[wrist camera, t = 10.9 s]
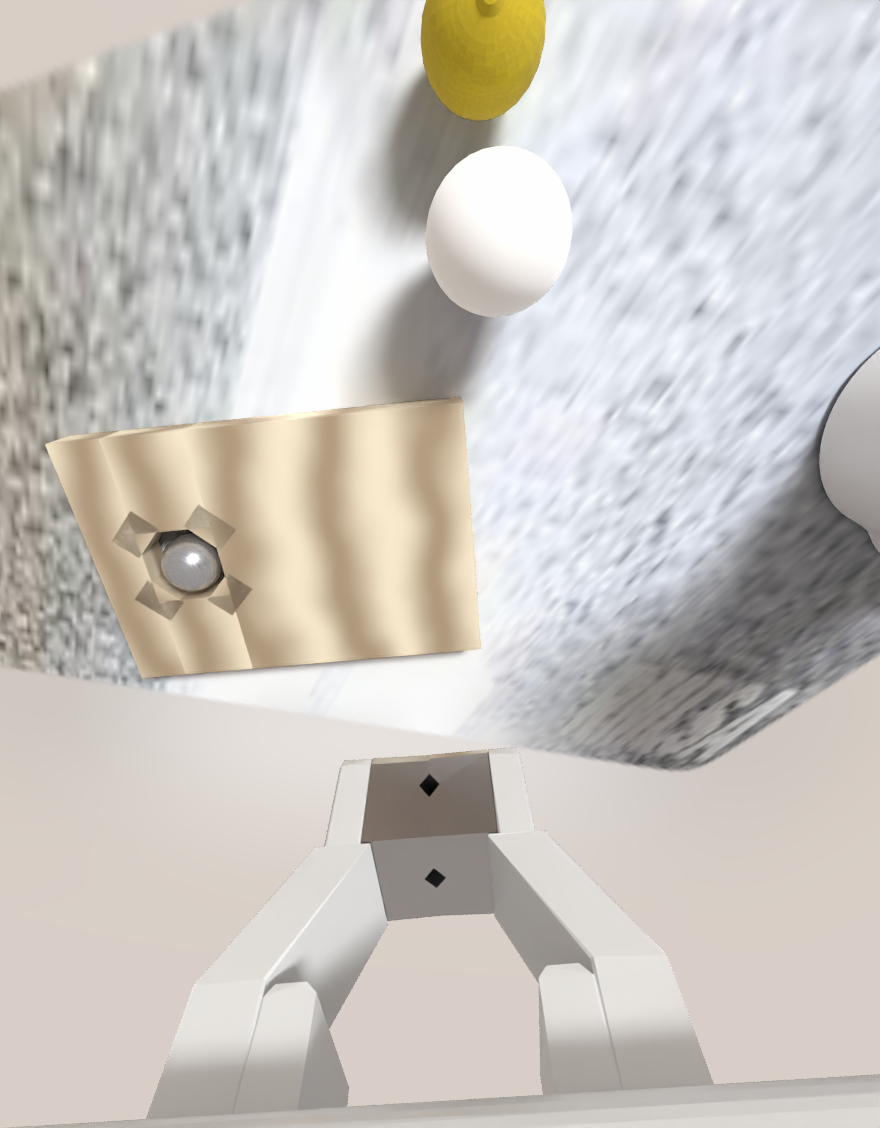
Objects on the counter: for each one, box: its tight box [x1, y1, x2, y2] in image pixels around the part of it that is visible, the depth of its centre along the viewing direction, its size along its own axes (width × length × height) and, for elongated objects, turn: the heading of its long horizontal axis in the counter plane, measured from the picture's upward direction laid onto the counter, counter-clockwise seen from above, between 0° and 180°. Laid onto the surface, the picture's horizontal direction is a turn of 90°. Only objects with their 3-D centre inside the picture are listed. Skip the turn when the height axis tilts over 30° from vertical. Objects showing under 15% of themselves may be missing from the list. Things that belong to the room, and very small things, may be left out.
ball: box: [161, 534, 223, 591], centre depth 37 cm, size 4×4×4 cm
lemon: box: [421, 0, 546, 121], centre depth 24 cm, size 6×6×8 cm
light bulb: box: [426, 146, 572, 317], centre depth 26 cm, size 7×7×11 cm
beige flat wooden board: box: [45, 397, 481, 678], centre depth 38 cm, size 26×18×2 cm
